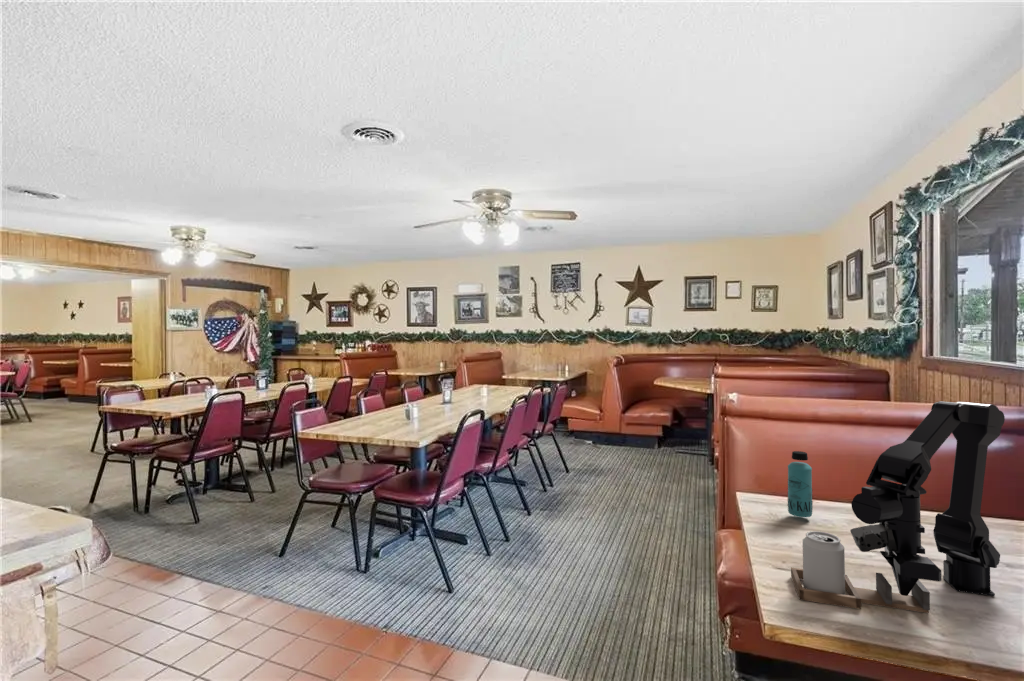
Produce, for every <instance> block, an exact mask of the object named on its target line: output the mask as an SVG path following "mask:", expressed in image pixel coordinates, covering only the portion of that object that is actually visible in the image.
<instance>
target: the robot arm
mask: <svg viewBox="0 0 1024 681" xmlns="http://www.w3.org/2000/svg"><path fill="white" fill-rule="evenodd" d="M1005 417H1006V416H1005V414H1004V412H1003V411H1002V410H1000V409H999V407H998V406H997V405H995V404H988V403H979V402H968V401H967V402H966V401H956V402H952V401H941V400H940V401H936V402H933V404H932V405H931V410H930V412H929V413H928V414H927V415H926V416H925V417H924V419H922V420H921V422H920V423H919V424H918V425H917V427H915V429H914V430H913V431H912V432H911V433H910V434H909V436H908V437H907V438H906V439H905V440H903V442H900V443H897V444H894V445H892V446H890V447H888V448H887V449H885V451H883V452H881V453H880V455H878V458H877V460H876V461H875V463H874V466H873V467H872V469H871V471H870V473H869V475H868V477H867V479H866V482H865V484H866V486H862V487H861V493H857V494H856V495H855V496H854V497H853V499H852V501H851V504H850V505H851V510H852V512H853V513H854V515H855V516H856V518H857V519H858V520H860V521H861V522H863V523H865V524H867V525H865V526H859V527H853V528H851V529H850V534H851V536H852V538H853V541H854V543H855V546H857V548H858V550H859V551H860V552H861V553H869V552H871V551H874V550H880V549H883V548H884V550H880V551H879V554H880V555H882V557H883V558H884V559H885V561H887V563H888V564H889V565H890V567H891V569H892V573H893V575H894V579H895V583H896V586H897V589H898V592H899V593H898V594H901V595H904V596H908V595H910V593H911V590H912V588H913V587H914V585H915V584H916V583H917V581H918V580H919V581H920V580H926V581H935V582H942V578H943V580H944V581H945V582H946V583H947V584H949V586H951V588H953V589H954V590H955V591H957V592H961V593H968V594H975V595H983V596H991V597H995V596H996V593H995V592H994V591H993V590H992V589H991V588H992V587H991V569H992V568H993V569H997V568H998V565H999V564H1000V561H1001V554H1000V552H999V551H998V550H997V548H996V547H995V546H994V545H993V544H992V542H991V541H990V528H989V527H988V525H987V524H986V522H985V520H984V519H983V517H982V515H981V509H982V503H983V502H982V501H983V499H982V498H983V492H984V484H985V482H984V481H985V473H986V465H987V459H988V458H987V456H988V448H989V446H990V445H991V444H992V443H994V441H995V440H996V439H998V438H999V437H1000V435H1001V431H1002V427H1003V425H1004V424H1005V420H1006V418H1005ZM951 434H952V436H953V437H954V439H955V440H956V447H955V455H954V462H953V463H954V464H953V472H952V478H951V479H952V480H951V488H950V497H949V505H948V508H946V509H945V510H944V511H943V512H942V513H939V512H938V513H937V514H936V515H935V517H934V518H935V523H934V527H933V528H934V529H933V531H932V532H933V538H934V541H935V544H936V549H937V551H938V553H942V554H945V557H946V558H945V559H944V560H943V565H942V566H943V575H942V569H940V567H938V566H937V565H936V564H935V562H934V561H932V560H931V559H930V558H929V557H927V556H921V555H926V548H925V547H924V546H922V534H926V530H925V528H926V527H924V526H923V525H922V523H921V495H926V494H927V490H926V488H924V487H923V486H922V485H923V484H924V483H925V481H927V479H928V478H929V475H930V473H931V472H932V464H931V460H932V458H933V456H934V455H935V454H936V453H937V451H939V449H940V448H941V446H942V445H943V444H944V443H945V442H946V441H947V439H948V438H949V437H950V436H951ZM920 554H921V555H920Z"/></svg>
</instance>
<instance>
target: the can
mask: <svg viewBox="0 0 1024 681" xmlns="http://www.w3.org/2000/svg"><path fill="white" fill-rule="evenodd" d="M841 541H842V540H841V538H840V537H839V536H838V535H836V534H833V533H829V532H825V531H821V530H820V531H819V530H818V531H816V530H813V531H807V532H806V533H805V537H804V538H803V539H802V569H803V579H802V581H803V582H802V587H803V588H804V589H810V590H817V591H823V592H830V593H837V594H843V595H846V589H845V575H846V574H845V573H846V564H845V563H846V562H845V546H844V545H843V543H842V542H841Z"/></svg>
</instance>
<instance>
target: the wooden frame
mask: <svg viewBox="0 0 1024 681" xmlns="http://www.w3.org/2000/svg"><path fill="white" fill-rule="evenodd" d="M790 576H791V579H792V583H793V585H794V588H795V591H796V593H797V597H798V599H799V600H800V601H801V600H802V601H807V602H814V603H821V604H827V605H833V606H838V607H839V606H840V607H844V608H851V609H857V610H862V604H867V605H874V606H879V607H880V606H881V607H887V608H894V609H900V610H907V611H913V612H919V613H927V614H930V611H931V601H930V600H931V597H930V596H931V594H930V591H929V590H928V588H927V587H926V586H925V585H924V584H923V583H922V582H921V581H920V579H919V580H918V581H917V583H916V584H915V585H914V587H913V588H912V590H911V591H910V593H911V595H910V594H908V596H904V595H901V594H900V593H898V592H893V586H892V584H890V582H889V581H888V580H887V578H886V577H885V575H884V574H883V573H881V572H875V589H870V588H862V587H855V586H854V585H853V583H852V582H851V580H850V578H849V577H848V575H847V574H845V592H847V594H845V595H843V594H837V593H830V592H823V591H817V590H810V589H806V588H804V586H803V583H802V582H801V580H803V568H797V567H790Z"/></svg>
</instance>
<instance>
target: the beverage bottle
mask: <svg viewBox="0 0 1024 681" xmlns="http://www.w3.org/2000/svg"><path fill="white" fill-rule="evenodd" d="M791 459H792V460H795V461H791V462H790V463H789V464H788V465H787V489H786V490H787V496H786V497H787V502H786V504H787V511H788V513H789V515H791V516H794V517H798V518H811V517H812V516H813V511H814V510H813V508H814V505H813V502H814V500H813V490H814V489H813V475H812V473H813V472H812V471H813V467H811V466H810V465H809V464H808V463H807V462H804V461H808V460H809V457H808V453H807V452H805V451H799V450H798V451H797V450H795V451H792V452H791ZM801 461H802V462H801Z"/></svg>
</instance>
